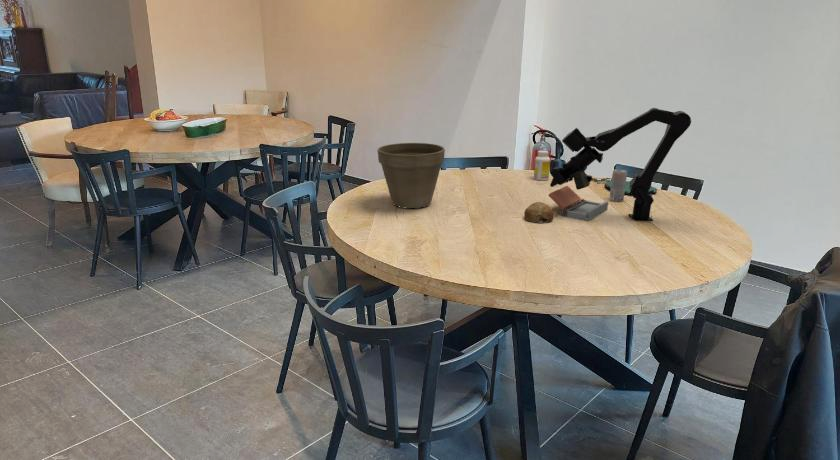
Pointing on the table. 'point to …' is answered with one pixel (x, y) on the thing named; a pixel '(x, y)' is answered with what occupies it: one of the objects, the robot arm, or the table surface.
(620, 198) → the energy drink
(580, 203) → the sill
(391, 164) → the plant pot
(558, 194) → the panel
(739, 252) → the table surface
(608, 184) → the cutlery set
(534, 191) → the table surface
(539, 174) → the supplement bottle
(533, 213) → the bread roll
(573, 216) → the tray
